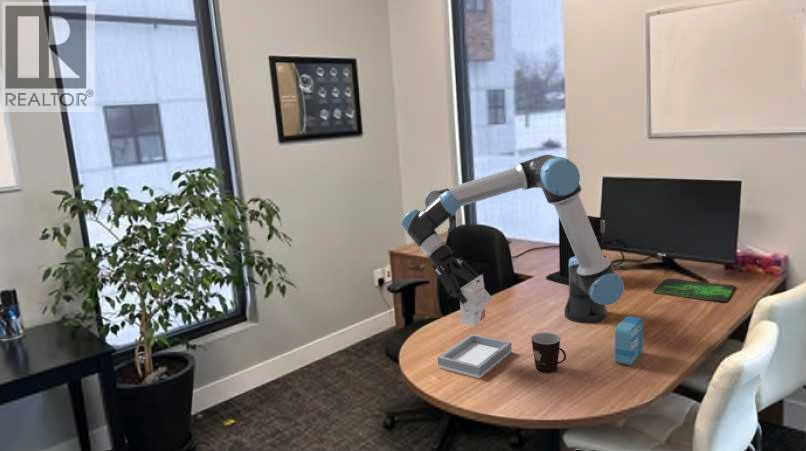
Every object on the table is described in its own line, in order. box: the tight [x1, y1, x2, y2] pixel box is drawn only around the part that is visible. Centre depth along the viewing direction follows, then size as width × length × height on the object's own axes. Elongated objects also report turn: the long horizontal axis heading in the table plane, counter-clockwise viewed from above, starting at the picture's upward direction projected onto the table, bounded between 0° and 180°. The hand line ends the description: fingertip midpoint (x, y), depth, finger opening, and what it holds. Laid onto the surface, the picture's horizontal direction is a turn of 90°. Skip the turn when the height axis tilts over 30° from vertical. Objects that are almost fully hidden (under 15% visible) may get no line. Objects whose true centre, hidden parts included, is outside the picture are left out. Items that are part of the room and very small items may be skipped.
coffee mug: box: [530, 332, 567, 374], centre depth 173 cm, size 12×9×10 cm
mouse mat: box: [652, 278, 737, 304], centre depth 233 cm, size 27×22×1 cm
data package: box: [614, 315, 644, 366], centre depth 177 cm, size 12×4×12 cm, turn 140°
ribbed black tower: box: [545, 215, 625, 286], centre depth 251 cm, size 30×19×30 cm, turn 34°
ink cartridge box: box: [459, 273, 486, 327], centre depth 181 cm, size 9×5×15 cm, turn 148°
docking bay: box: [437, 333, 513, 379], centre depth 185 cm, size 15×21×4 cm
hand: (481, 305), depth 179 cm, fingers closed on ink cartridge box, 9 cm apart
